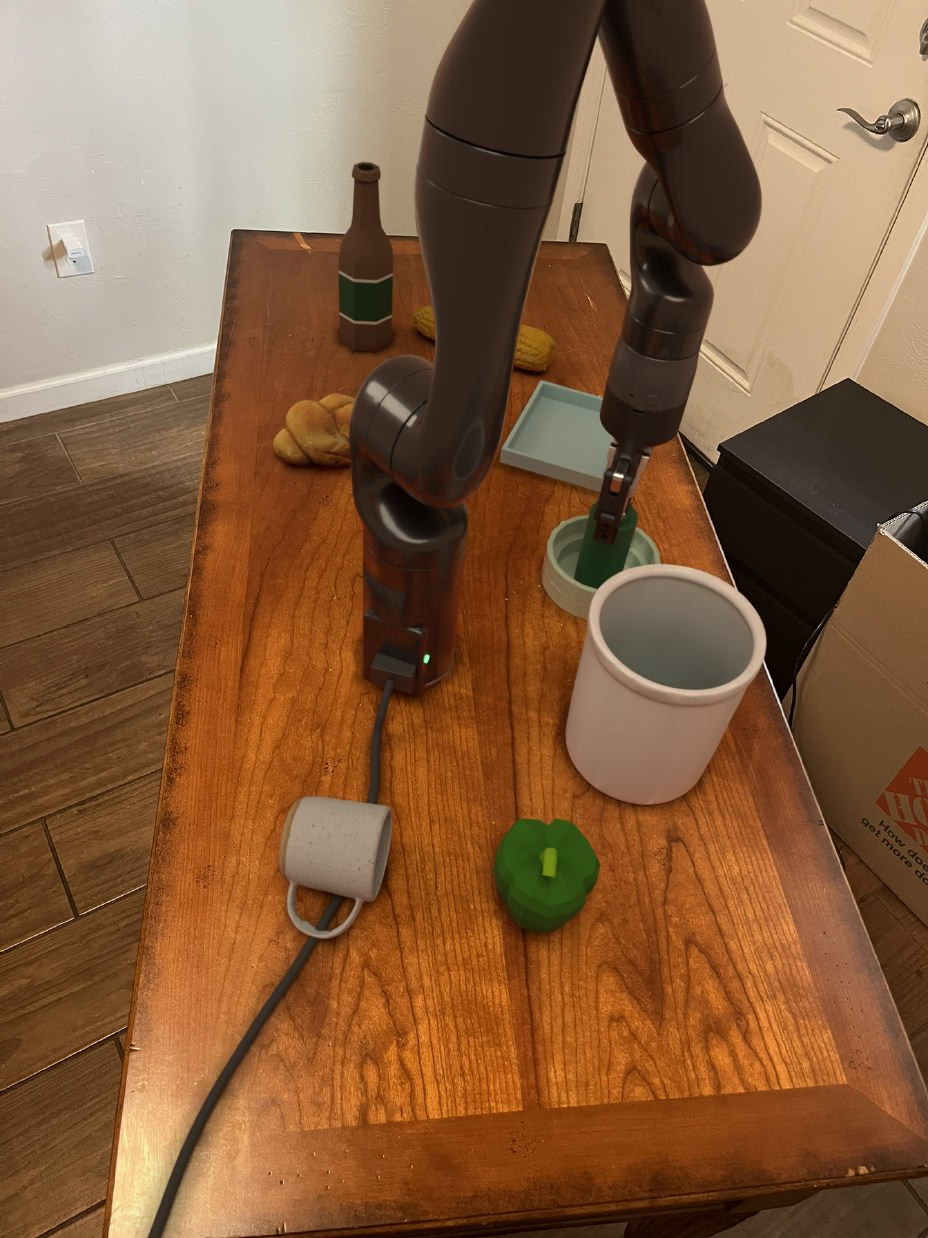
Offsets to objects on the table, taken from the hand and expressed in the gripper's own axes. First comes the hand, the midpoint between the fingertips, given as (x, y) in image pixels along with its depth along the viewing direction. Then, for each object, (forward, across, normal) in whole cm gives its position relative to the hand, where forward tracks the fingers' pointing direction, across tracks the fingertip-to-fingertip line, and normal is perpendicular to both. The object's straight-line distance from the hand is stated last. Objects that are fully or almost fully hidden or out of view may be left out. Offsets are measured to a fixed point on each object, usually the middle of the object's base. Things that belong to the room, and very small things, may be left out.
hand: (614, 514), depth 97 cm
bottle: (+10, 0, 0) cm, 10 cm away
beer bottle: (+11, -33, -43) cm, 55 cm away
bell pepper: (+10, +38, +5) cm, 40 cm away
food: (+11, -37, -27) cm, 47 cm away
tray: (+10, -23, -10) cm, 27 cm away
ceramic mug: (+10, +43, -11) cm, 46 cm away
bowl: (+10, 0, 0) cm, 10 cm away
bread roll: (+10, -8, -37) cm, 39 cm away
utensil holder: (+10, +19, +9) cm, 24 cm away
